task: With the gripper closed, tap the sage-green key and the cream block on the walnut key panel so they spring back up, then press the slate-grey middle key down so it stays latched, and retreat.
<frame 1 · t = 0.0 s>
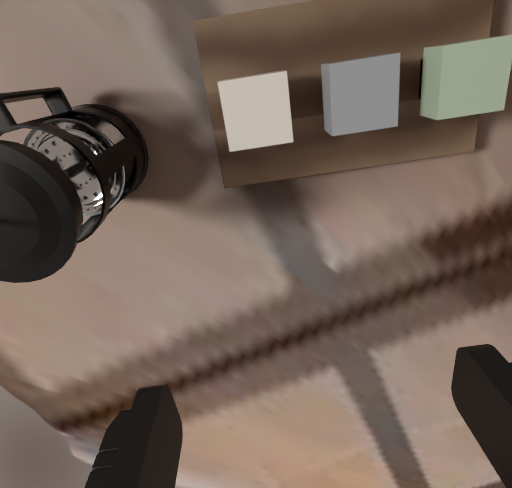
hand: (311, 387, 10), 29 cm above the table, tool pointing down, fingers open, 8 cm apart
key panel: (337, 89, 34), on the table
sage key: (454, 78, 28), point 6 cm above the table, slide at 0.0 cm
cream block: (255, 109, 29), point 6 cm above the table, slide at 0.0 cm
french press: (99, 148, 36), on the table
grey squarish block: (354, 93, 28), point 6 cm above the table, slide at 0.0 cm
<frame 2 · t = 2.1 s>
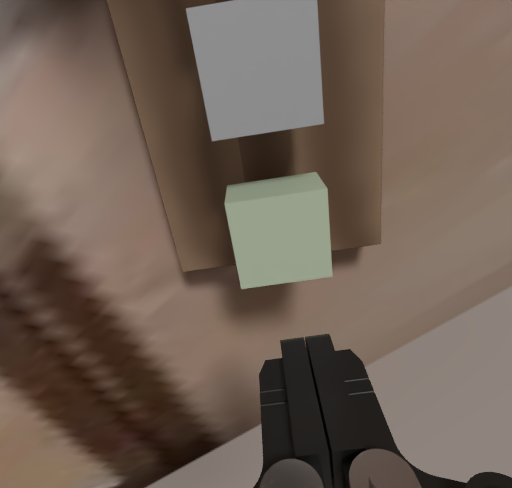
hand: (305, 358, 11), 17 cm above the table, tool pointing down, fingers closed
key panel: (254, 68, 22), on the table
sage key: (276, 220, 21), point 6 cm above the table, slide at 0.0 cm
grey squarish block: (257, 69, 17), point 6 cm above the table, slide at 0.0 cm
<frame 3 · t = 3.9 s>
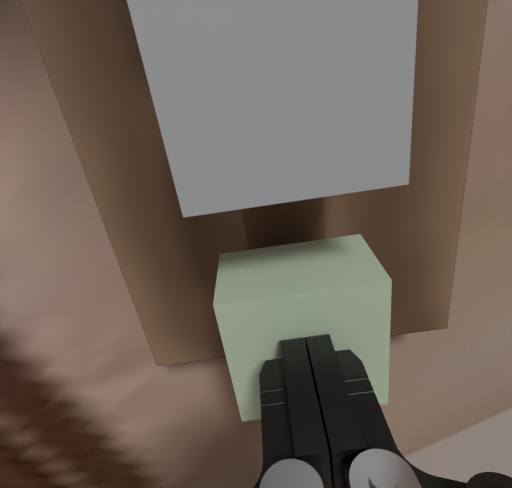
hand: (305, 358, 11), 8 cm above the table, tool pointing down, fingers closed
key panel: (262, 71, 14), on the table
sage key: (296, 303, 13), point 5 cm above the table, slide at 0.8 cm, touching gripper
grey squarish block: (271, 73, 9), point 6 cm above the table, slide at 0.0 cm
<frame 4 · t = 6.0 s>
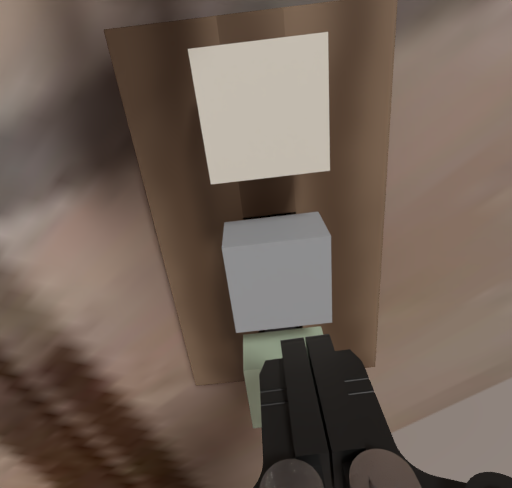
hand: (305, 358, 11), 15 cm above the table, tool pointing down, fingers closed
key panel: (268, 219, 25), on the table
sage key: (284, 361, 24), point 5 cm above the table, slide at 0.3 cm
cream block: (260, 107, 16), point 6 cm above the table, slide at 0.0 cm
grey squarish block: (275, 259, 20), point 6 cm above the table, slide at 0.0 cm
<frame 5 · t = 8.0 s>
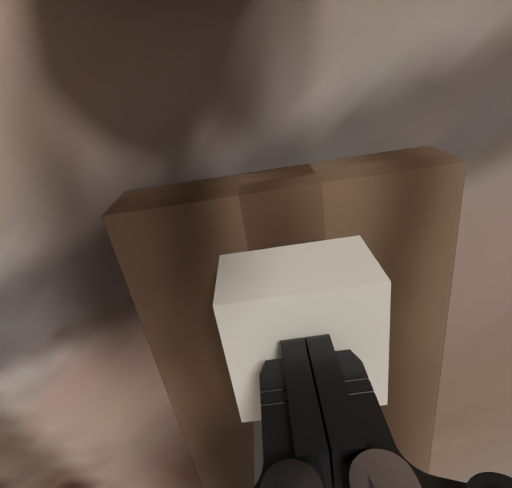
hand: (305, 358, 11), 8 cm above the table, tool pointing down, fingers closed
key panel: (298, 361, 21), on the table
cream block: (296, 304, 14), point 5 cm above the table, slide at 0.7 cm, touching gripper
grey squarish block: (314, 452, 16), point 6 cm above the table, slide at 0.0 cm
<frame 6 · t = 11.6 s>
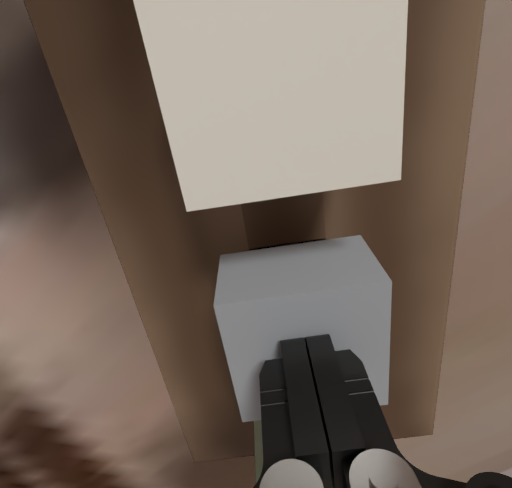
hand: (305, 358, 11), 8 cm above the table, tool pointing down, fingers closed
key panel: (284, 244, 18), on the table
sage key: (313, 444, 17), point 5 cm above the table, slide at 0.3 cm
cream block: (270, 75, 10), point 5 cm above the table, slide at 0.3 cm
grey squarish block: (297, 304, 14), point 5 cm above the table, slide at 0.6 cm, touching gripper
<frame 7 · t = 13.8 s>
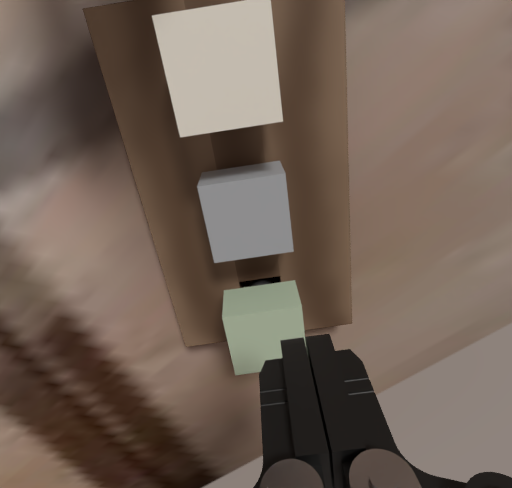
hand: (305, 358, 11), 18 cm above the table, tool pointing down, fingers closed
key panel: (245, 186, 27), on the table
sage key: (264, 315, 26), point 5 cm above the table, slide at 0.3 cm
cream block: (224, 71, 18), point 5 cm above the table, slide at 0.3 cm
grey squarish block: (246, 204, 23), point 4 cm above the table, slide at 1.9 cm
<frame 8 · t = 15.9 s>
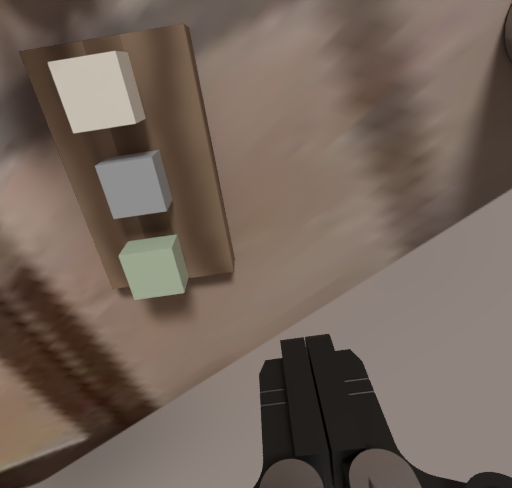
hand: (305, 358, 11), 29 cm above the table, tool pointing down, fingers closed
key panel: (149, 169, 37), on the table
sage key: (158, 260, 36), point 5 cm above the table, slide at 0.3 cm
cream block: (106, 91, 29), point 5 cm above the table, slide at 0.3 cm
grey squarish block: (140, 180, 34), point 4 cm above the table, slide at 1.9 cm
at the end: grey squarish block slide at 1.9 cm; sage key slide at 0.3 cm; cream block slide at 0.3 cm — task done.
